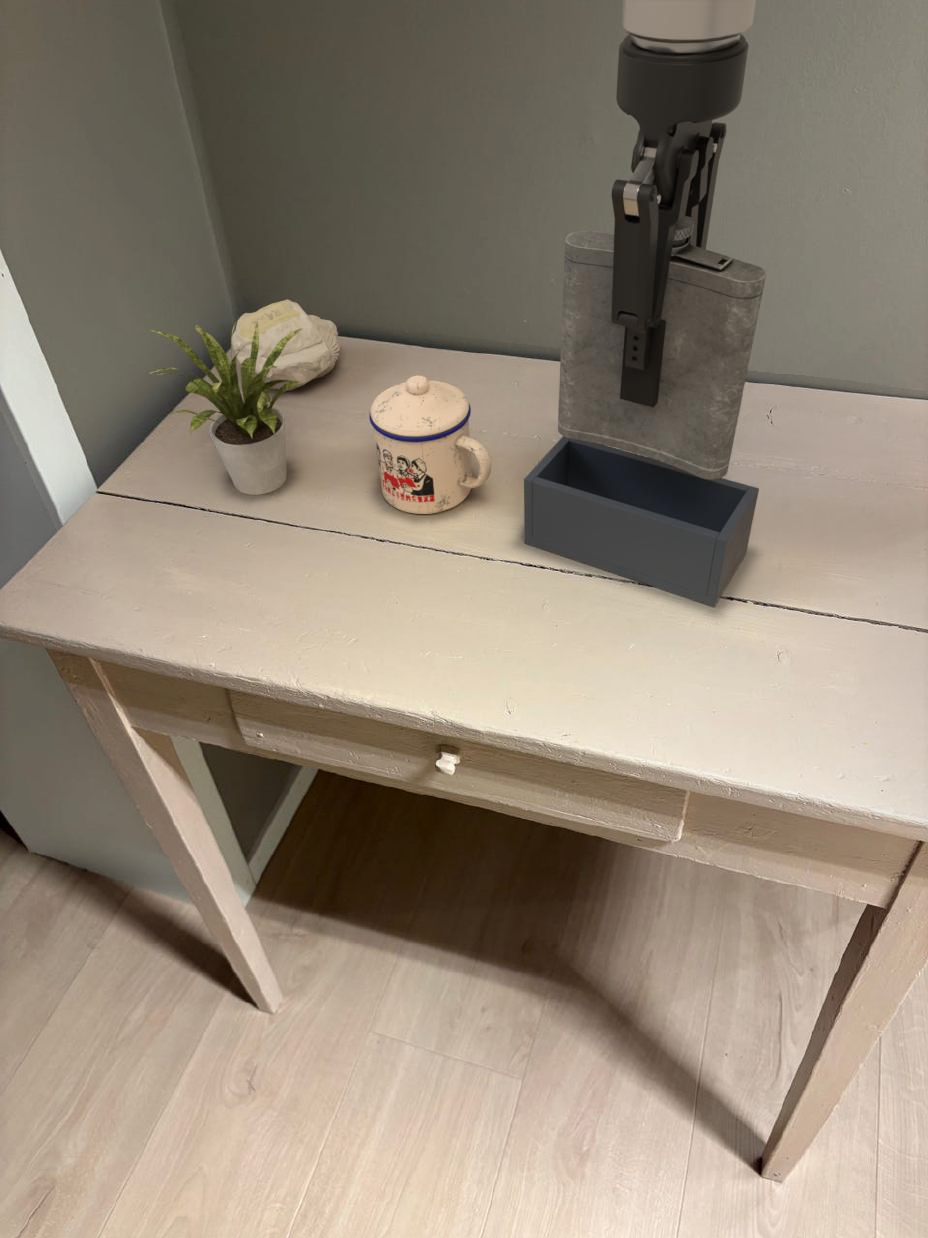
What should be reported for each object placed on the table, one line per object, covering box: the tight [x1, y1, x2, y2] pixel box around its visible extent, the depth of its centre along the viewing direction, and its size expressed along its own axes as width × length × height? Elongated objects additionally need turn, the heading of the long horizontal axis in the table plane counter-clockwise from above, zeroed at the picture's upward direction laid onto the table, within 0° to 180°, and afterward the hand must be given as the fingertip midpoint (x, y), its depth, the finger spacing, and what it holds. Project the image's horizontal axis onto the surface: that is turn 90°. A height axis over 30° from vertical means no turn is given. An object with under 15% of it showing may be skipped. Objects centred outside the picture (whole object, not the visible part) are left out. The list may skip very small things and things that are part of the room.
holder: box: [523, 436, 760, 608], centre depth 81 cm, size 18×8×7 cm, turn 59°
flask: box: [557, 216, 767, 480], centre depth 70 cm, size 4×14×18 cm, turn 59°
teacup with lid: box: [369, 375, 492, 515], centre depth 87 cm, size 12×9×12 cm
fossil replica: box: [232, 299, 341, 391], centre depth 105 cm, size 12×8×10 cm
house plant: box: [148, 320, 304, 496], centre depth 88 cm, size 14×14×16 cm
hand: (649, 386), depth 73 cm, fingers closed on flask, 3 cm apart
